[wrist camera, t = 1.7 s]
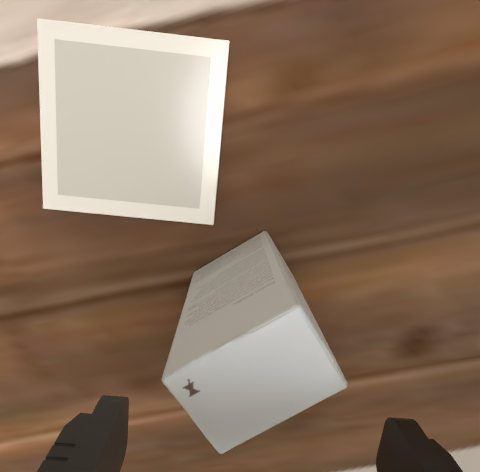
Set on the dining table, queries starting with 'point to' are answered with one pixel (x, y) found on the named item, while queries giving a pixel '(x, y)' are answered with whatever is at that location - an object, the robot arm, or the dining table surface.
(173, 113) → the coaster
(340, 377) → the skincare box
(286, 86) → the dining table surface
